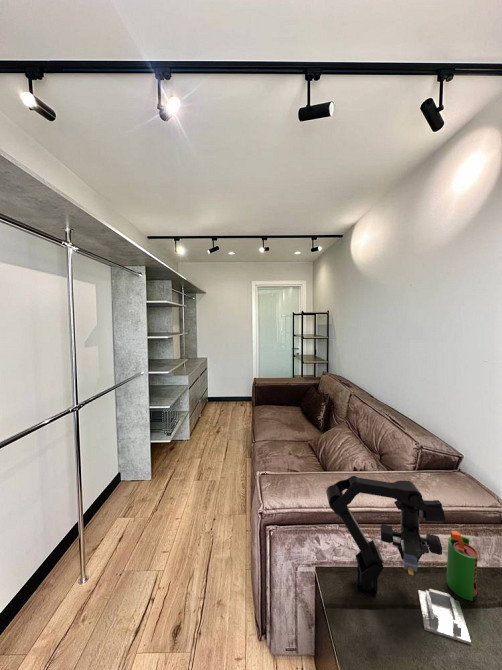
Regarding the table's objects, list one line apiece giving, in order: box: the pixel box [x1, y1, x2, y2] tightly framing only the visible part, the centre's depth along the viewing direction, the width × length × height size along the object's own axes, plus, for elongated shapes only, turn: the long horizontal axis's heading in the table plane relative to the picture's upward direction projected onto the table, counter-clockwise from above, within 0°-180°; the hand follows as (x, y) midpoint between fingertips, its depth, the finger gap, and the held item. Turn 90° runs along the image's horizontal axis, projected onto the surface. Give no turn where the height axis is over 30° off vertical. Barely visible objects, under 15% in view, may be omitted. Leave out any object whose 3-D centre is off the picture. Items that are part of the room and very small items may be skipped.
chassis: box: [417, 588, 472, 645], centre depth 97 cm, size 12×13×4 cm
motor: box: [446, 530, 479, 601], centre depth 106 cm, size 10×9×20 cm
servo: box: [401, 540, 419, 576], centre depth 106 cm, size 4×10×5 cm, turn 158°
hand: (409, 560), depth 106 cm, fingers closed on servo, 4 cm apart
